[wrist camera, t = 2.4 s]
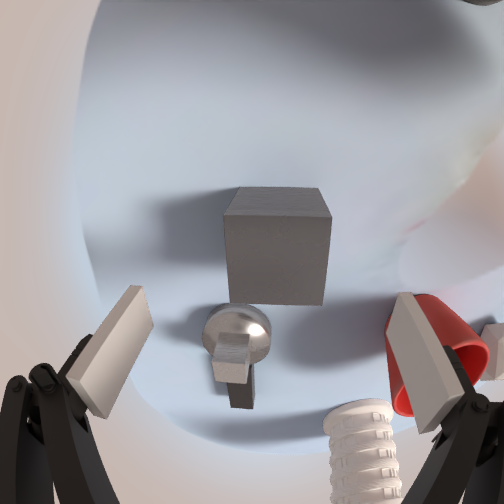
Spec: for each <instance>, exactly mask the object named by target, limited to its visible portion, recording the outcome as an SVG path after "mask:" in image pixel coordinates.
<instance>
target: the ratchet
mask: <svg viewBox="0 0 504 504" xmlns="http://www.w3.org/2000/svg"><path fill="white" fill-rule="evenodd" d="M202 341H203V344H204V347H205V348H206V350H207V351H208V352H209V353H210V354H211V355H212V356H213V358H212V366H213V372H214V377H215V381H219V382H227V386H228V393H229V399H230V405H231V408H242V409H253V406H254V398H255V385H254V363H257V362H259V361H260V360H262V359H263V358H264V357H265V356H266V355H267V354H268V352H269V350H270V342H271V324H270V321H269V319H268V318H267V316H266V315H265V314H264V313H263V312H262V311H260V310H259V309H257V308H256V307H254V306H251V305H248V304H244V303H226V304H223V305H220V306H218V307H216V308H215V309H214V310H213V311H212V312H211V313H210V315H209V317H208V319H207V322H206V325H205V328H204V331H203V334H202Z"/></svg>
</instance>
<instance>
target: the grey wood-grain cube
mask: <svg viewBox="0 0 504 504" xmlns="http://www.w3.org/2000/svg"><path fill="white" fill-rule="evenodd" d="M223 216H224V231H225V246H226V260H227V273H228V285H229V298H230V303H245V304H270V305H315V306H322V303H323V296H324V289H325V281H326V273H327V265H328V256H329V247H330V237H331V226H332V216H331V214H330V211H329V209H328V207H327V205H326V203H325V201H324V199H323V197H322V195H321V193H320V191H319V189H318V188H296V187H240V188H239V189H238V191H237V193H236V195H235V196H234V198H233V200H232V201H231V203H230V205H229V206H228V208H227V210H226V212H225V213H224V215H223Z"/></svg>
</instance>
